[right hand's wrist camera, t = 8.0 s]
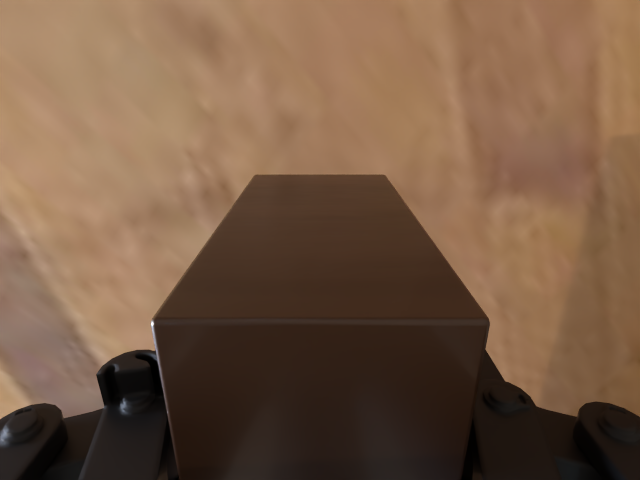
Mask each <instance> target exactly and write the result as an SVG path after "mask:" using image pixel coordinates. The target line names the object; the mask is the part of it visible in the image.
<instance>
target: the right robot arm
mask: <svg viewBox="0 0 640 480" xmlns="http://www.w3.org/2000/svg"><path fill="white" fill-rule="evenodd" d="M96 375H97V379H98V383H99V387H100V391H101V395H102V398H103V402H104V408H103V409H100V410H96V411H93V412H89V413H85V414H81V415H77V416H72V417H68V418H63V415H62V412H61V410H60V409H59V408H58V407H57V406H56V405H52V404H46V403H43V404H35V405H30V406H27V407H24V408H21V409H18V410H16V411H14V412H12V413H10V414H9V415H7V416H5V417H3V418H2V419H0V480H179V475H178V470H177V464H176V459H175V453H174V448H173V443H172V437H171V432H170V426H169V421H168V415H167V410H166V404H165V399H164V393H163V388H162V382H161V377H160V371H159V366H158V360H157V355H156V350H155V351H152V350H135V351H131V352H127V353H123V354H121V355H119V356H117V357H115V358H113V359H111V360H110V361H108V362H107V363H106V364H104V365H103V366H102V367H101V369H100V370H99V371H98V373H97V374H96ZM461 480H640V417H639V416H637V415H635V414H633V413H632V412H630V411H628V410H626V409H624V408H621V407H618V406H616V405H613V404H610V403H602V402H591V403H586V404H584V405H583V406H582V407H581V408H580V409H579V413H578V416H577V417H575V416H570V415H566V414H562V413H558V412H553V411H549V410H546V409H542V408H539V407H537V406H536V405H535V404H534V402H533V401H532V399H531V397H530V396H529V395H528V394H526V393H525V392H524V391H523V390H522V389H521V388H519V387H517V386H515V385H513V384H511V383H509V382H505V381H504V379H503V377H502V376H501V374H500V372H499V371H498V369H497V368H496V366H495V364H494V363H493V361H492V359H491V358H490V356H489V355H488V353H487V351H486V350H485V353H484V359H483V364H482V370H481V375H480V380H479V386H478V391H477V397H476V402H475V408H474V413H473V418H472V424H471V429H470V435H469V440H468V446H467V451H466V456H465V462H464V467H463V473H462V478H461Z"/></svg>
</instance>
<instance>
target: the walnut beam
mask: <svg viewBox="0 0 640 480" xmlns="http://www.w3.org/2000/svg"><path fill="white" fill-rule="evenodd" d="M489 326H490V322H489V319H488V317H487V316H486V314H485V313H484V312H483V310H482V309H481V307H480V306H479V305H478V303H477V302H476V300H475V299H474V298H473V296H472V295H471V293H470V292H469V291H468V289H467V288H466V287H465V285H464V284H463V282H462V281H461V280H460V278H459V277H458V275H457V274H456V273H455V271H454V270H453V269H452V267H451V266H450V264H449V263H448V262H447V260H446V259H445V257H444V256H443V255H442V253H441V252H440V251H439V249H438V248H437V246H436V245H435V244H434V242H433V241H432V239H431V238H430V237H429V235H428V234H427V233H426V231H425V230H424V228H423V227H422V226H421V224H420V223H419V221H418V220H417V219H416V217H415V216H414V214H413V213H412V212H411V210H410V209H409V208H408V206H407V205H406V203H405V202H404V201H403V199H402V198H401V196H400V195H399V194H398V192H397V191H396V190H395V188H394V187H393V185H392V184H391V183H390V181H389V180H388V178H387V177H386V176H385V175H255V176H254V177H253V178H252V180H251V181H250V182H249V184H248V185H247V187H246V188H245V189H244V191H243V192H242V194H241V195H240V196H239V198H238V199H237V201H236V202H235V203H234V205H233V206H232V208H231V209H230V210H229V212H228V213H227V215H226V216H225V217H224V219H223V220H222V222H221V223H220V224H219V226H218V227H217V229H216V230H215V231H214V233H213V234H212V236H211V237H210V238H209V240H208V241H207V243H206V244H205V245H204V247H203V248H202V250H201V251H200V252H199V254H198V255H197V257H196V258H195V259H194V261H193V262H192V264H191V265H190V266H189V268H188V269H187V271H186V272H185V273H184V275H183V276H182V278H181V279H180V280H179V282H178V283H177V285H176V286H175V287H174V289H173V290H172V292H171V293H170V294H169V296H168V297H167V299H166V300H165V301H164V303H163V304H162V306H161V307H160V308H159V310H158V311H157V313H156V314H155V315H154V317H153V318H152V321H151V327H152V333H153V338H154V344H155V349H156V355H157V360H158V366H159V371H160V377H161V382H162V388H163V393H164V399H165V404H166V410H167V415H168V421H169V426H170V432H171V437H172V443H173V448H174V453H175V459H176V464H177V470H178V475H179V480H461V478H462V473H463V467H464V462H465V456H466V451H467V446H468V440H469V435H470V429H471V424H472V418H473V413H474V408H475V402H476V397H477V391H478V386H479V380H480V375H481V370H482V364H483V359H484V353H485V348H486V342H487V337H488V331H489Z"/></svg>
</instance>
